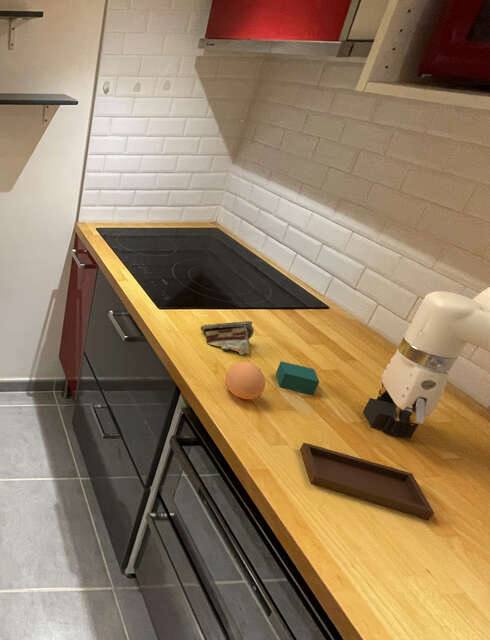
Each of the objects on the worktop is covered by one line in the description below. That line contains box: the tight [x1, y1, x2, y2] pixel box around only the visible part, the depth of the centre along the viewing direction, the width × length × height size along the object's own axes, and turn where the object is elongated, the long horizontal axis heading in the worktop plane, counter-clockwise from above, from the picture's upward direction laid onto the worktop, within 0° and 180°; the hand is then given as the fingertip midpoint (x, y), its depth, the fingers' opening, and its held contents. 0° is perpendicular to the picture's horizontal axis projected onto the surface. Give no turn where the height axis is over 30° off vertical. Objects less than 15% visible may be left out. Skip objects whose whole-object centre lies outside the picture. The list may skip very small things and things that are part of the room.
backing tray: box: [299, 442, 435, 521], centre depth 80 cm, size 16×8×2 cm, turn 66°
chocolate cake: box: [200, 320, 255, 356], centre depth 115 cm, size 10×7×12 cm
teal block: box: [275, 360, 320, 396], centre depth 102 cm, size 6×5×4 cm
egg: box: [224, 360, 266, 400], centre depth 98 cm, size 7×7×8 cm
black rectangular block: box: [362, 397, 420, 439], centre depth 92 cm, size 6×5×4 cm
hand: (386, 422), depth 92 cm, fingers open, 5 cm apart
